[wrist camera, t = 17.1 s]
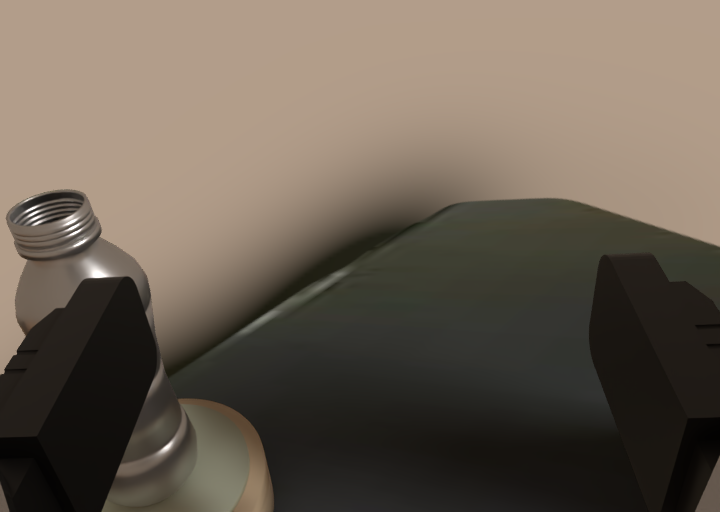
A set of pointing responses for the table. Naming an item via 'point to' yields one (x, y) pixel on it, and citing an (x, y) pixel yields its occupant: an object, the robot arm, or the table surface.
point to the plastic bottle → (54, 290)
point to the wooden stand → (219, 466)
